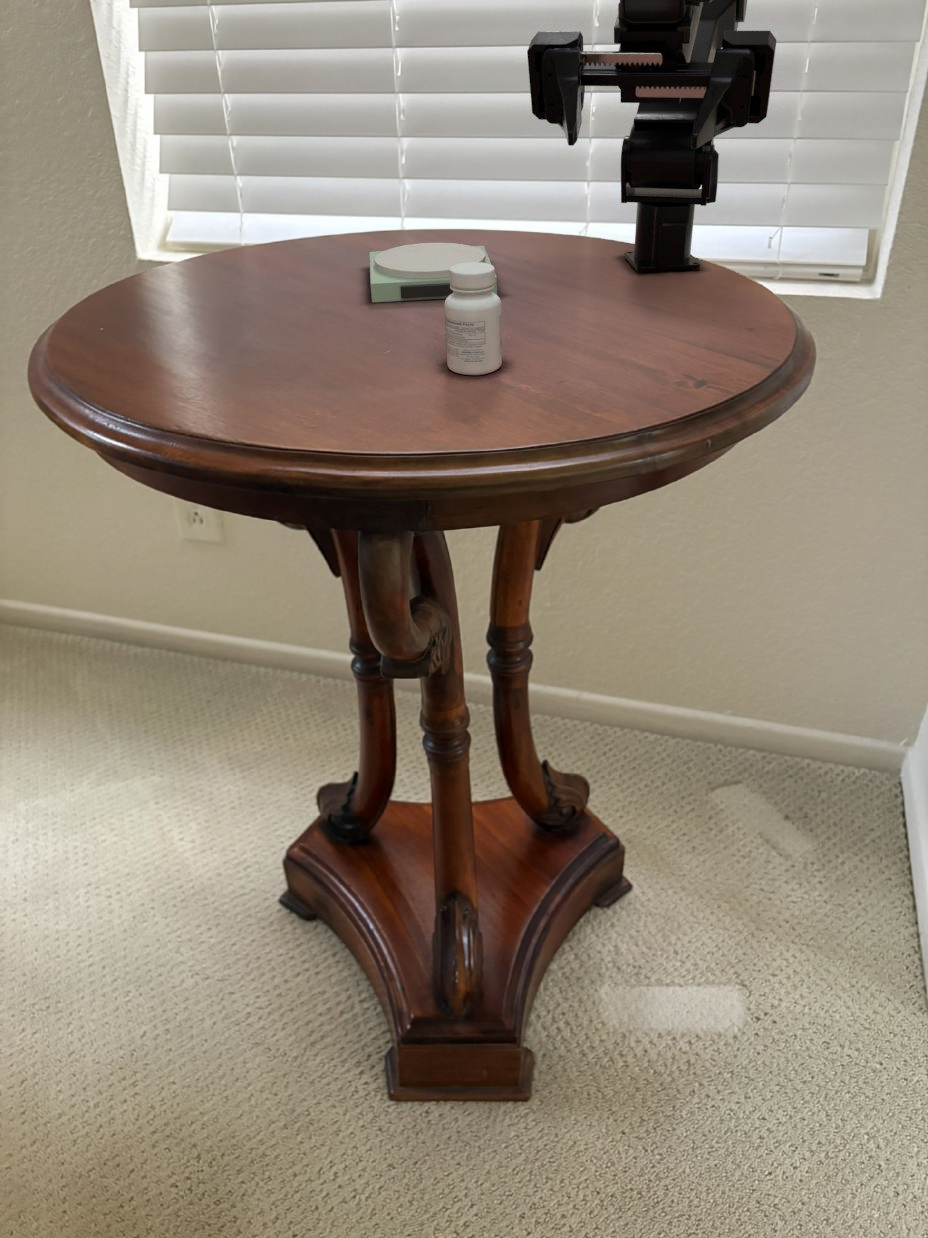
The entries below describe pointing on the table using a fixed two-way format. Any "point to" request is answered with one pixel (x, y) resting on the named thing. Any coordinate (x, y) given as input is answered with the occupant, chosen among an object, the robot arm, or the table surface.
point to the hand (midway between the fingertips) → (631, 140)
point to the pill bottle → (473, 320)
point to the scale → (419, 270)
